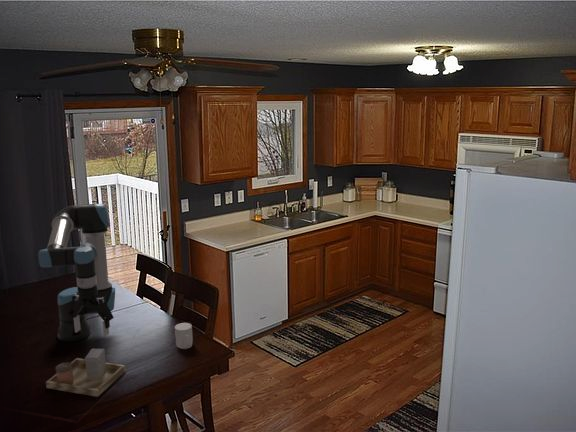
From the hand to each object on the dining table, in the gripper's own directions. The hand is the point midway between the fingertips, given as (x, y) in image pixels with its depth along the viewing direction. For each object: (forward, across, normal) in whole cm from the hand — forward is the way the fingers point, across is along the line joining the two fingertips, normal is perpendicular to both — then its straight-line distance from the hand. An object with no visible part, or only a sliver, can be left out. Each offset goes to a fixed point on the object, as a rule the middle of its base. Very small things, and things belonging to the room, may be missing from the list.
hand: (92, 333), depth 221 cm
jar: (+20, -8, -9) cm, 23 cm away
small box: (+20, 0, 0) cm, 20 cm away
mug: (+21, +24, +35) cm, 47 cm away
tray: (+20, -2, -4) cm, 21 cm away
